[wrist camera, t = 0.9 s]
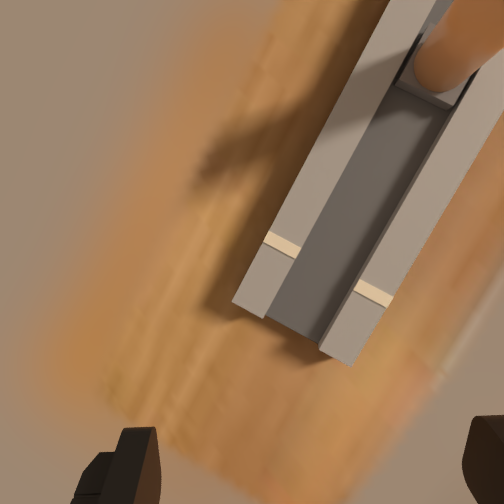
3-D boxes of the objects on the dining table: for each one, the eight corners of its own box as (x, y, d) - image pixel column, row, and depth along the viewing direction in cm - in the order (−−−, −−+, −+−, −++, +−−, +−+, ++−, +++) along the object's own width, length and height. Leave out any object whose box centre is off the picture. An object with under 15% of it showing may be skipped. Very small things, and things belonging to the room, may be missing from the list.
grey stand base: (404, -23, 26) (416, -51, 24) (532, 37, 26) (560, 16, 23) (237, 293, 30) (231, 302, 27) (346, 353, 29) (351, 368, 26)
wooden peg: (422, 26, 25) (561, -191, 12) (481, 55, 25) (693, -134, 11) (390, 87, 26) (485, -54, 12) (447, 115, 25) (610, 3, 12)
